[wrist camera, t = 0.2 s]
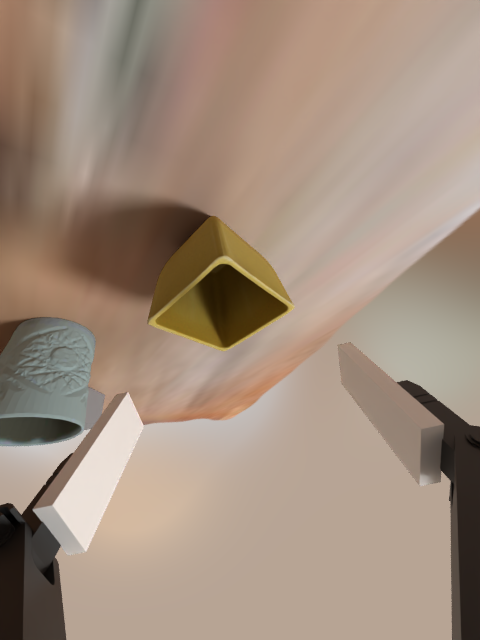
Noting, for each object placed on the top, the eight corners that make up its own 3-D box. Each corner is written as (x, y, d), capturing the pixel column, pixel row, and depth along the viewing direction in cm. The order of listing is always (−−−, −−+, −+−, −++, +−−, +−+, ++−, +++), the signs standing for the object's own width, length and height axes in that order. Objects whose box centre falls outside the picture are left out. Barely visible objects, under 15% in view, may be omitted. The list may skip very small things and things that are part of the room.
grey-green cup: (33, 357, 34) (-2, 451, 27) (-16, 313, 26) (-84, 428, 19) (111, 352, 36) (96, 437, 29) (87, 309, 28) (60, 412, 21)
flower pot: (215, 290, 30) (224, 353, 24) (150, 252, 24) (144, 325, 18) (271, 243, 25) (297, 308, 20) (209, 184, 20) (223, 253, 14)
